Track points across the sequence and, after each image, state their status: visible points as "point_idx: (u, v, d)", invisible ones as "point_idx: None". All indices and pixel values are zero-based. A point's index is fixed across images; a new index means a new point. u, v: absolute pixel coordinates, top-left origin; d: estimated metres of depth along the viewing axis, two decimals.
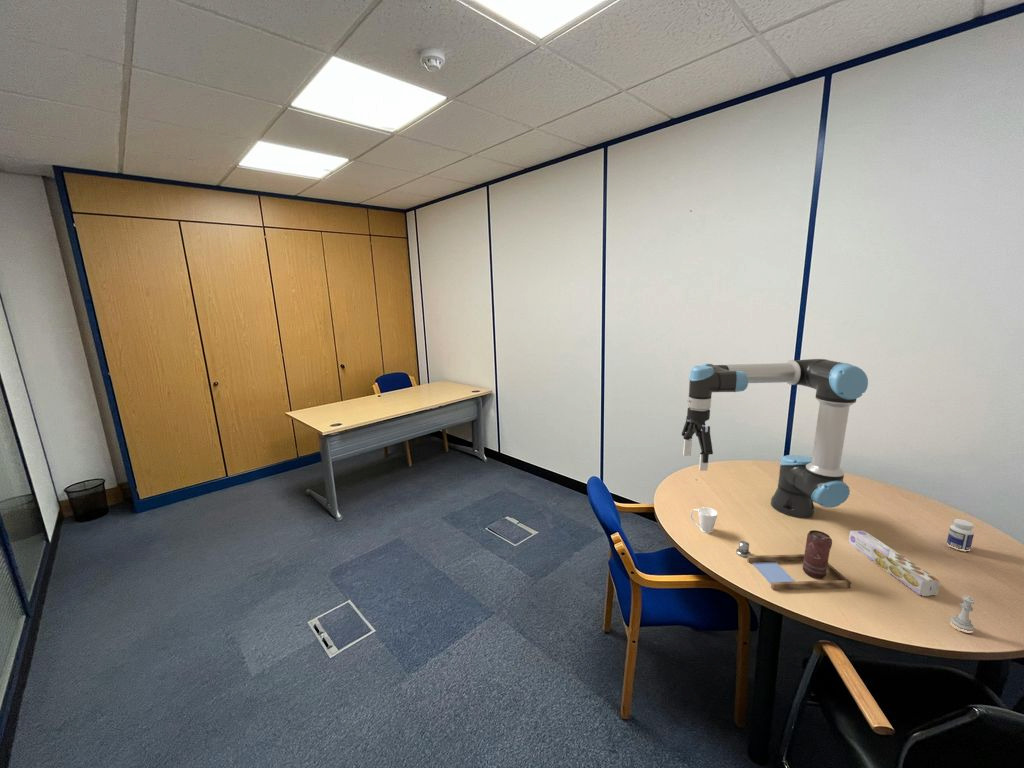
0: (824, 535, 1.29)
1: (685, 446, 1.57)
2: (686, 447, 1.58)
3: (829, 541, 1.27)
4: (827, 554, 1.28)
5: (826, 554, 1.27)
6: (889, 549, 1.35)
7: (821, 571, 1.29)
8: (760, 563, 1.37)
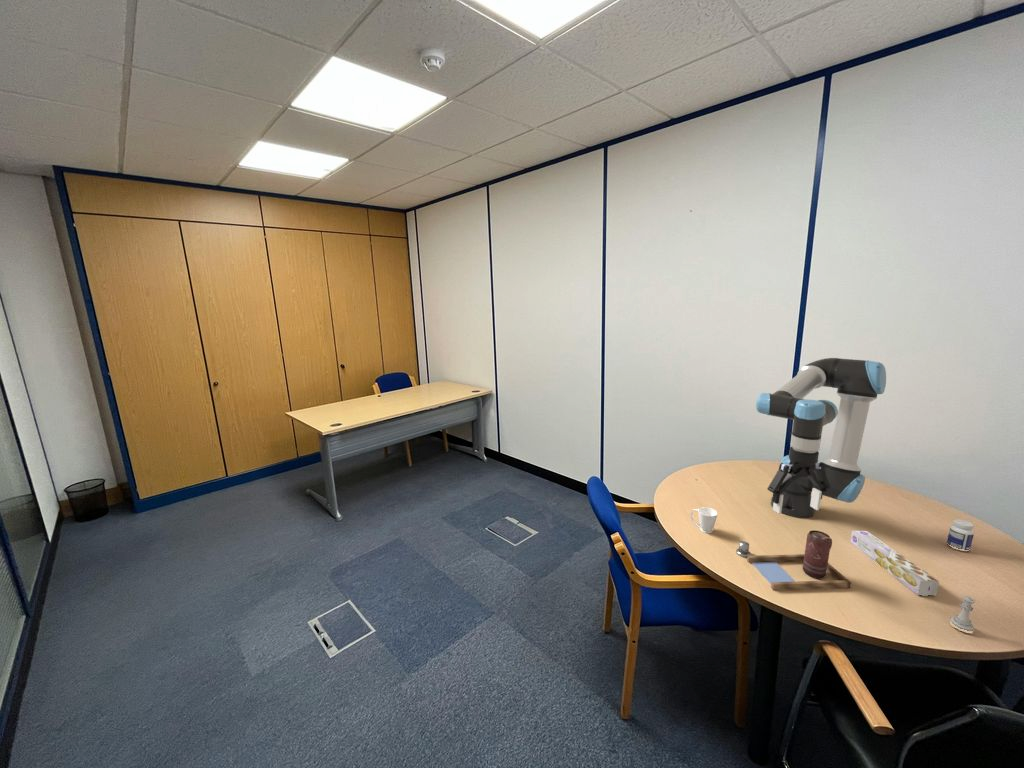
0: (824, 535, 1.29)
1: (812, 495, 1.33)
2: (813, 498, 1.33)
3: (829, 541, 1.27)
4: (827, 554, 1.28)
5: (826, 554, 1.27)
6: (890, 549, 1.35)
7: (821, 571, 1.29)
8: (760, 563, 1.37)
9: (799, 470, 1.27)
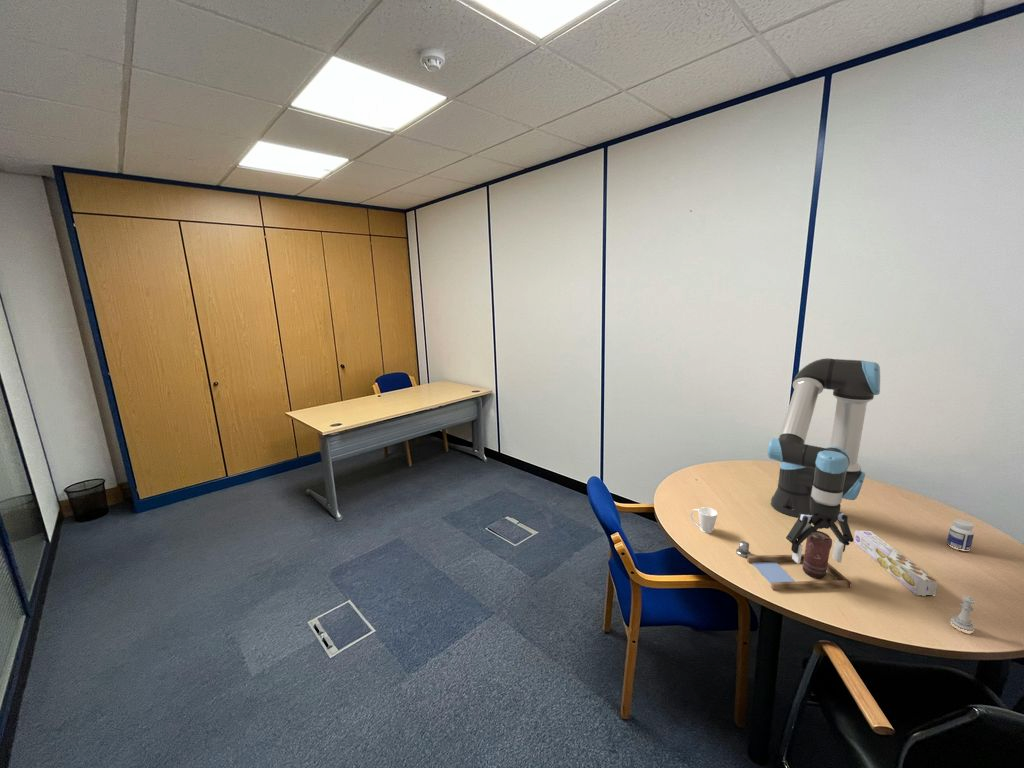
0: (824, 535, 1.29)
1: (834, 547, 1.31)
2: (835, 549, 1.31)
3: (829, 541, 1.27)
4: (827, 554, 1.28)
5: (826, 554, 1.27)
6: (892, 549, 1.35)
7: (821, 571, 1.29)
8: (760, 563, 1.37)
9: (819, 521, 1.26)
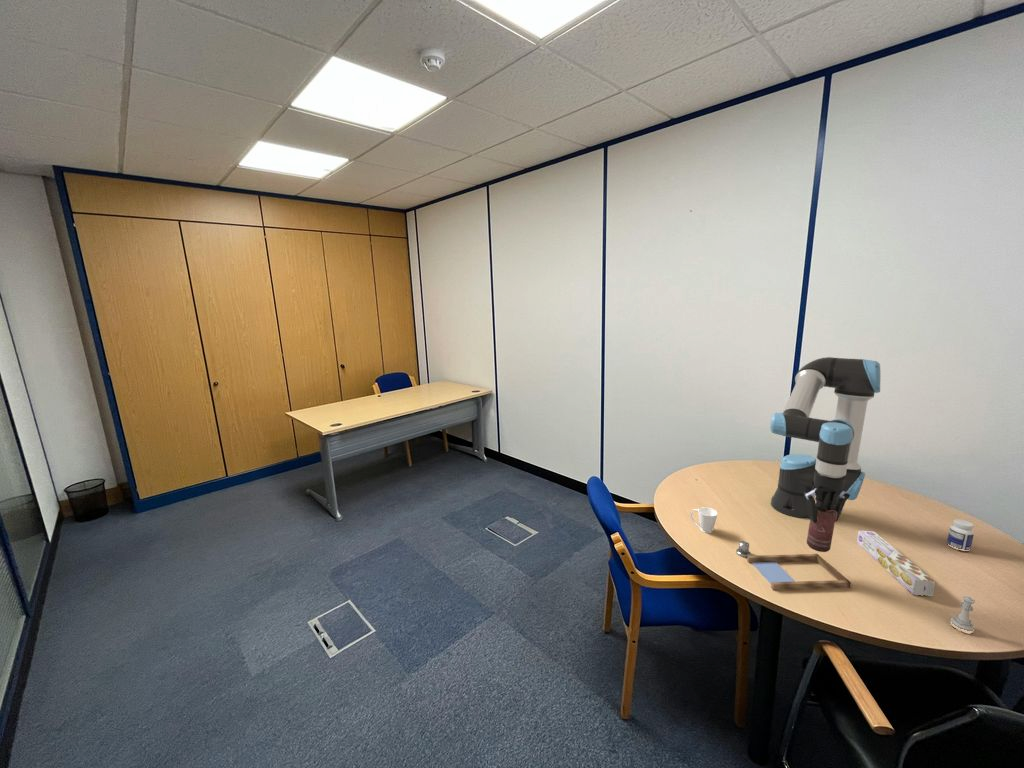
0: None
1: None
2: None
3: (834, 514, 1.25)
4: (832, 527, 1.26)
5: (831, 527, 1.26)
6: (893, 550, 1.35)
7: (826, 545, 1.27)
8: (760, 563, 1.37)
9: (824, 496, 1.25)
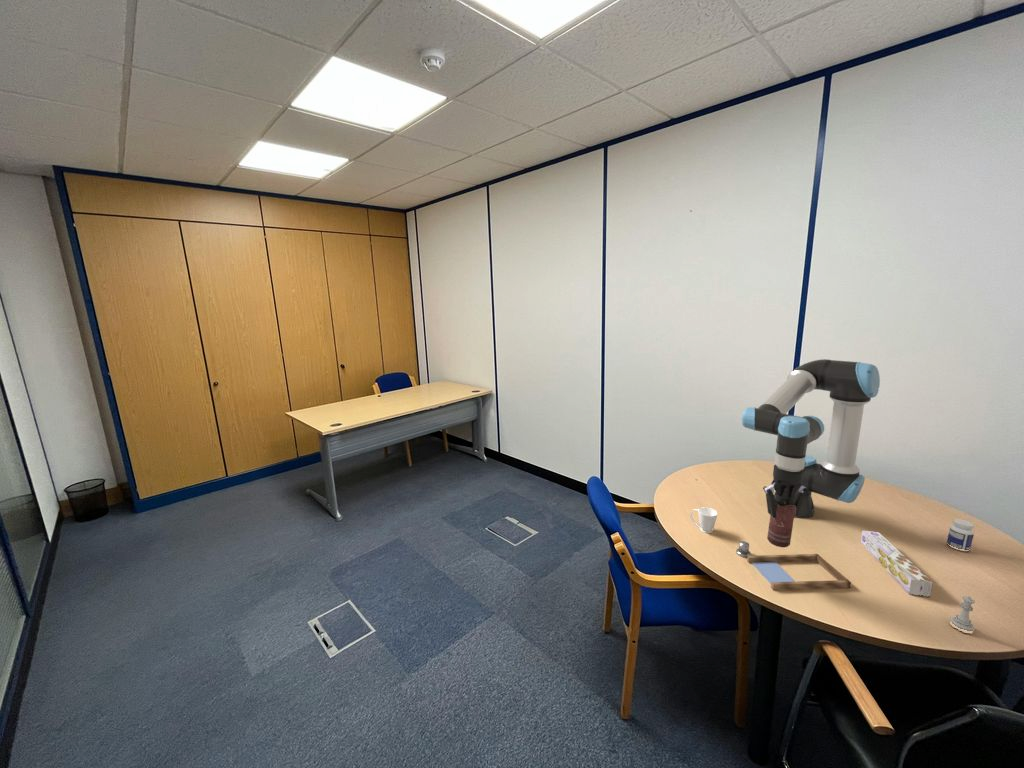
0: None
1: None
2: None
3: (793, 508, 1.24)
4: (791, 522, 1.25)
5: (790, 522, 1.25)
6: (895, 550, 1.34)
7: (785, 540, 1.26)
8: (760, 563, 1.37)
9: (783, 490, 1.24)
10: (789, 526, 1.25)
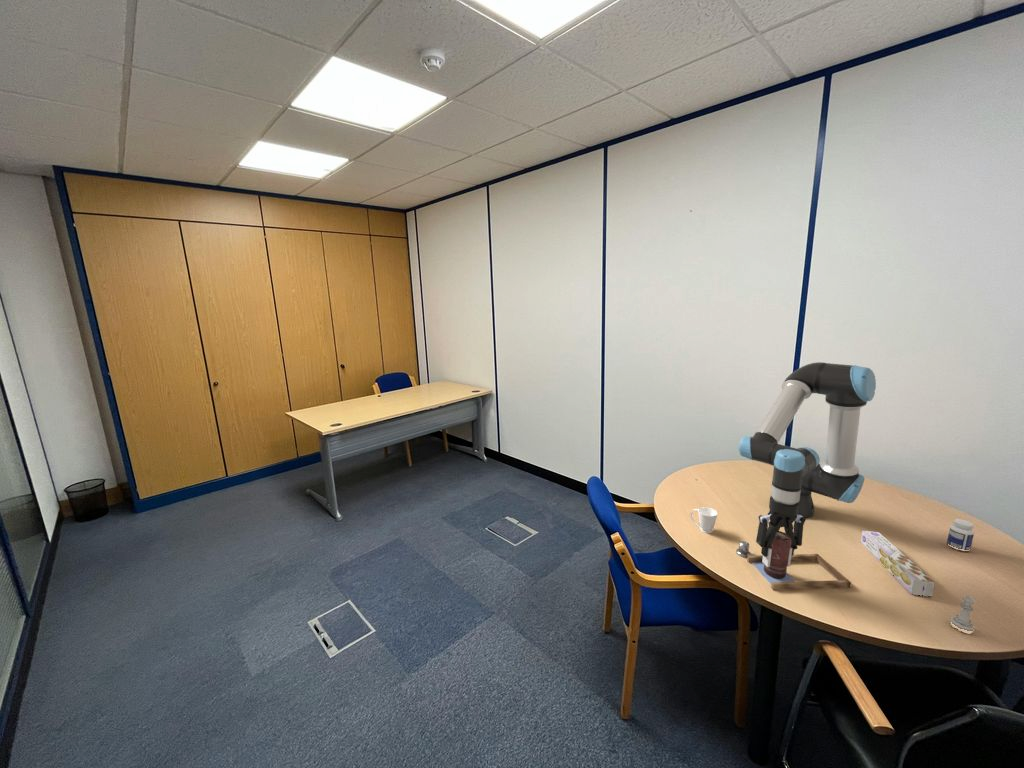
0: (784, 535, 1.29)
1: None
2: None
3: (788, 541, 1.27)
4: (786, 554, 1.27)
5: (785, 554, 1.27)
6: (896, 550, 1.34)
7: (781, 571, 1.28)
8: (760, 563, 1.37)
9: (778, 521, 1.26)
10: (784, 558, 1.28)
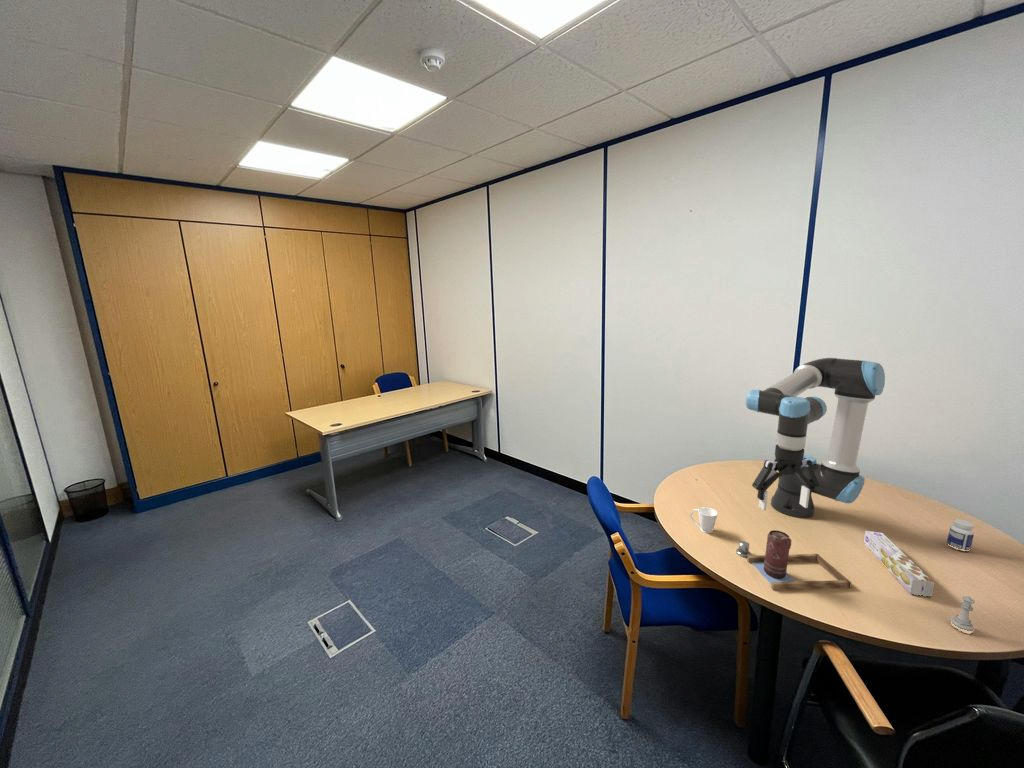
0: (784, 535, 1.29)
1: (801, 493, 1.32)
2: (802, 495, 1.32)
3: (788, 541, 1.27)
4: (786, 554, 1.27)
5: (785, 554, 1.27)
6: (897, 550, 1.34)
7: (781, 571, 1.28)
8: (760, 563, 1.37)
9: (784, 467, 1.27)
10: (784, 558, 1.28)
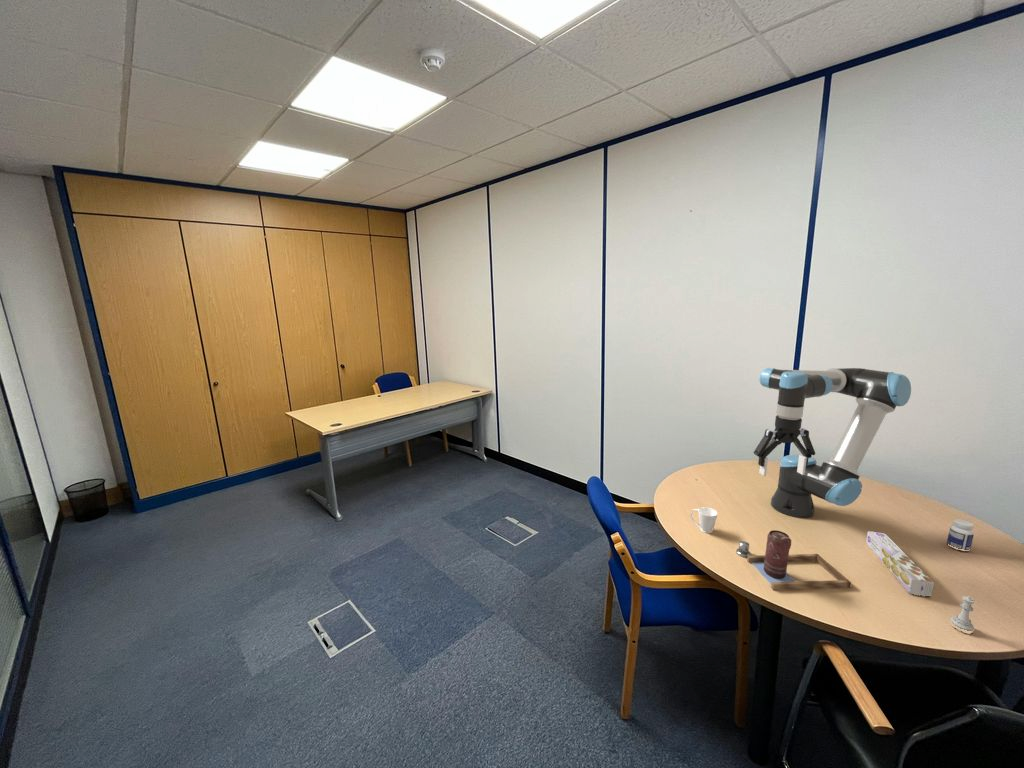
0: (784, 535, 1.29)
1: (799, 461, 1.44)
2: (800, 463, 1.44)
3: (788, 541, 1.27)
4: (786, 554, 1.27)
5: (785, 554, 1.27)
6: (899, 551, 1.34)
7: (781, 571, 1.28)
8: (760, 563, 1.37)
9: (783, 436, 1.39)
10: (784, 558, 1.28)
